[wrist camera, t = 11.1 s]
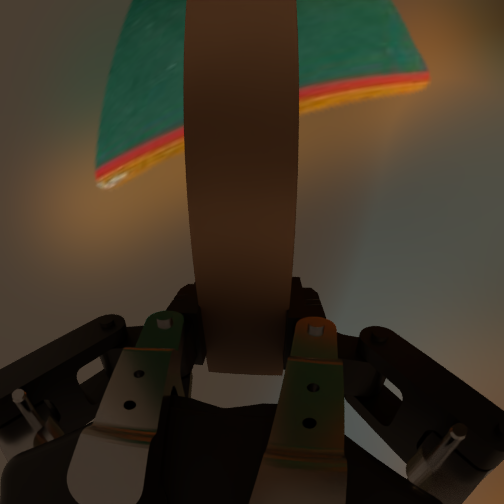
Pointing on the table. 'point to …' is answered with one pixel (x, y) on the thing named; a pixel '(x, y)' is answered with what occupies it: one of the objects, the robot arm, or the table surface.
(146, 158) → the table surface
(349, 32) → the table surface
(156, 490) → the robot arm
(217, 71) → the walnut plank
